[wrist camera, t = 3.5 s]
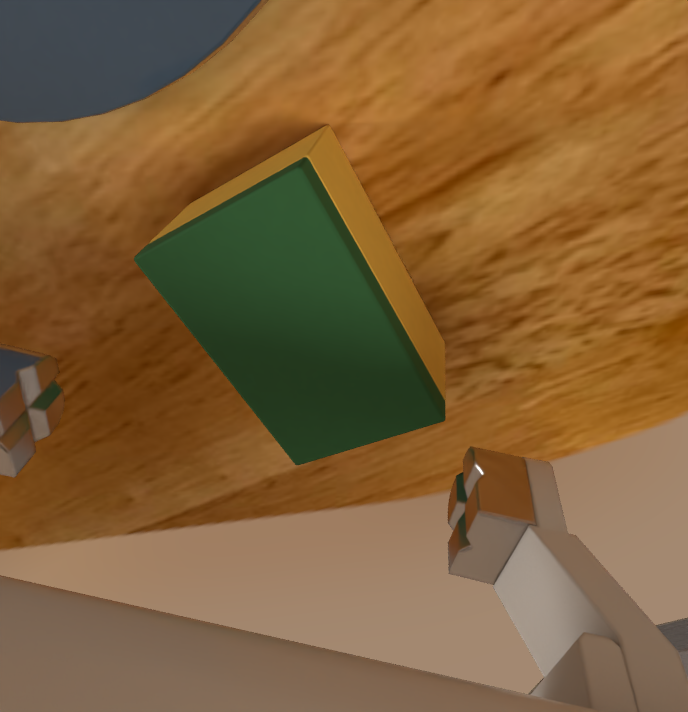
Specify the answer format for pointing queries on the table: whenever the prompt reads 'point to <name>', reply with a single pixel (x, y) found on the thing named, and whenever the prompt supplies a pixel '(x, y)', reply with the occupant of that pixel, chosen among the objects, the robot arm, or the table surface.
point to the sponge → (304, 303)
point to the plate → (105, 51)
